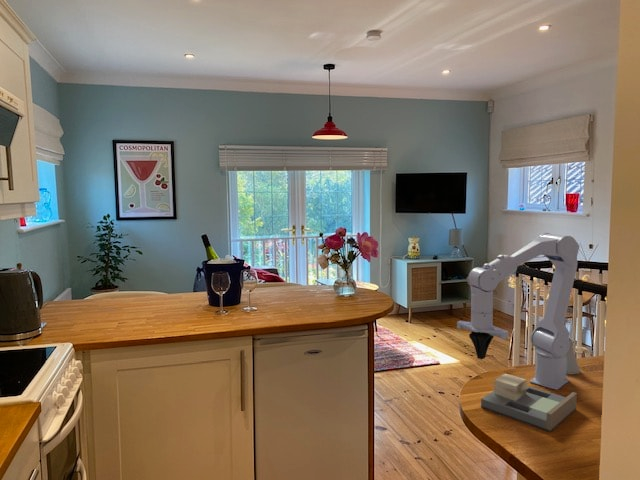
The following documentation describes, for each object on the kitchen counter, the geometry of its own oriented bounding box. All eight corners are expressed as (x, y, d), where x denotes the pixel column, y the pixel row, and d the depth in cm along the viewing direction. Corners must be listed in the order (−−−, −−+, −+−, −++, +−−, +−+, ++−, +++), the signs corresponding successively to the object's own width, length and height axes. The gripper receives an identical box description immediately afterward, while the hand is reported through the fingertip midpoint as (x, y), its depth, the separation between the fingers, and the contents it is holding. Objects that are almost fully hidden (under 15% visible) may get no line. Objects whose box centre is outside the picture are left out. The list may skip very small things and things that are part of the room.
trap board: (509, 389, 138) (509, 374, 137) (576, 409, 125) (576, 393, 124) (481, 407, 127) (481, 391, 127) (550, 432, 114) (550, 414, 113)
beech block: (504, 387, 134) (505, 373, 133) (526, 393, 129) (526, 379, 129) (494, 393, 130) (494, 379, 129) (515, 400, 125) (515, 386, 125)
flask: (583, 376, 145) (584, 344, 144) (557, 374, 147) (558, 343, 146) (576, 367, 152) (577, 336, 151) (552, 365, 154) (553, 335, 153)
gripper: (451, 309, 136) (451, 355, 137) (499, 318, 125) (498, 368, 127) (464, 304, 140) (464, 349, 142) (512, 313, 130) (511, 361, 131)
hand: (481, 357), depth 135 cm, fingers closed
